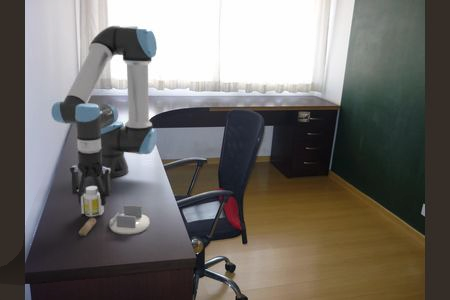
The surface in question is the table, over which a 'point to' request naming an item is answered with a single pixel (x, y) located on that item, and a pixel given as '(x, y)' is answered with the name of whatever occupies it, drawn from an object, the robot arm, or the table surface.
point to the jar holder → (129, 221)
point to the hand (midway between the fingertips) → (92, 212)
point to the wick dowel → (87, 226)
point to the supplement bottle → (91, 201)
